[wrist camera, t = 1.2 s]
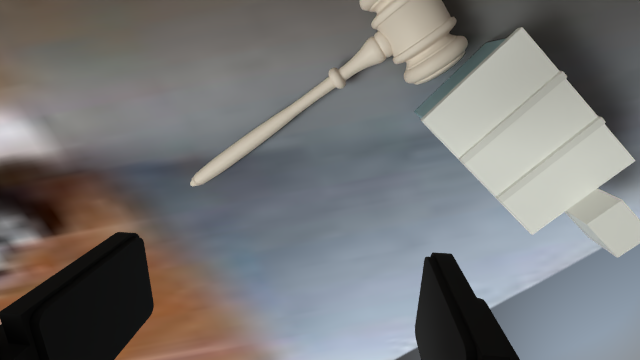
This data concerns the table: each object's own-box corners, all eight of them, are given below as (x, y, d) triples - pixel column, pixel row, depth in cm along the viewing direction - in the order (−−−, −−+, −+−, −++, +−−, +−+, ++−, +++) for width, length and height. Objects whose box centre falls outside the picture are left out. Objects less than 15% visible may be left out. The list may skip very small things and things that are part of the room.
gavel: (229, 207, 42) (464, 52, 32) (207, 230, 37) (483, 51, 26) (177, 142, 40) (410, -46, 30) (145, 156, 35) (417, -70, 24)
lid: (517, 28, 25) (542, 21, 22) (655, 191, 28) (696, 207, 25) (419, 119, 28) (429, 126, 25) (555, 259, 31) (579, 281, 28)
